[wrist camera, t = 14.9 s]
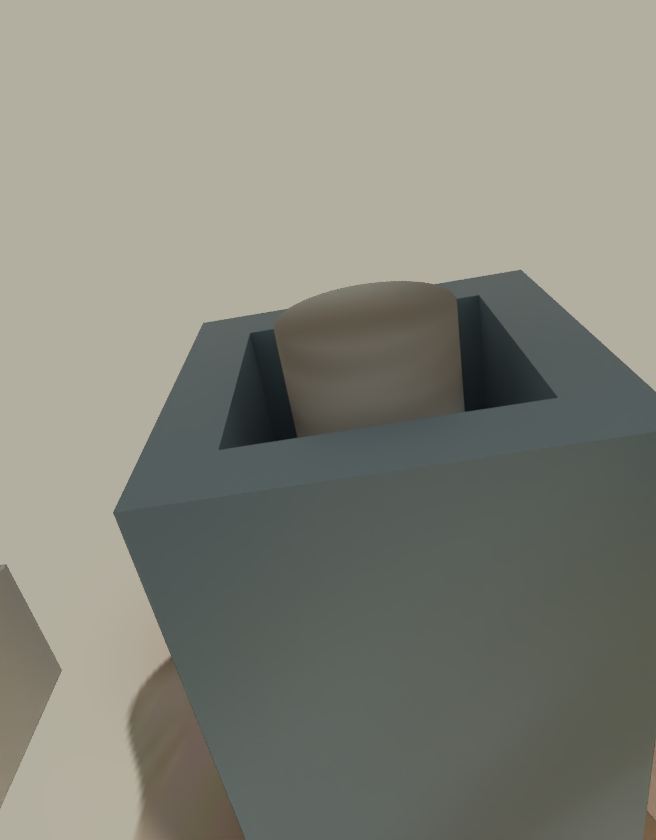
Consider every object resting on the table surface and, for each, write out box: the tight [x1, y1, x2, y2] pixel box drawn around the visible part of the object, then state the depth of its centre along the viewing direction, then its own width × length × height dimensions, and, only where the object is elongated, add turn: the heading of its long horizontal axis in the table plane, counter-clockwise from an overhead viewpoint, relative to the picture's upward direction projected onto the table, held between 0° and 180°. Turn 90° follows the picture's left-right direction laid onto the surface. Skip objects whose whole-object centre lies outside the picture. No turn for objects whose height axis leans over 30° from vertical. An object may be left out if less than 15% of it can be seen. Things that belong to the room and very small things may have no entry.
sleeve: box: [113, 270, 656, 840], centre depth 15 cm, size 8×8×11 cm
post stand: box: [273, 281, 656, 840], centre depth 17 cm, size 11×11×18 cm
